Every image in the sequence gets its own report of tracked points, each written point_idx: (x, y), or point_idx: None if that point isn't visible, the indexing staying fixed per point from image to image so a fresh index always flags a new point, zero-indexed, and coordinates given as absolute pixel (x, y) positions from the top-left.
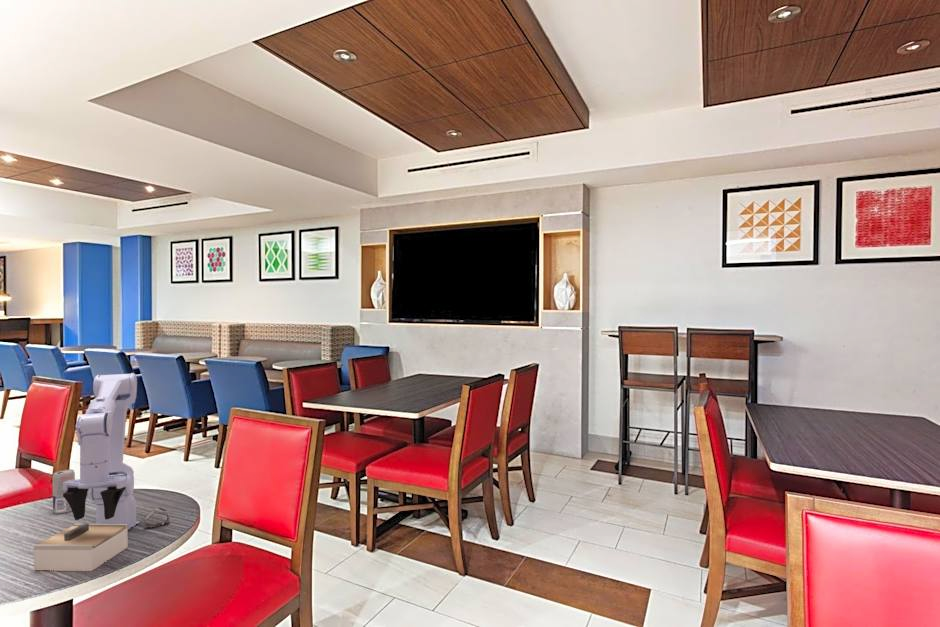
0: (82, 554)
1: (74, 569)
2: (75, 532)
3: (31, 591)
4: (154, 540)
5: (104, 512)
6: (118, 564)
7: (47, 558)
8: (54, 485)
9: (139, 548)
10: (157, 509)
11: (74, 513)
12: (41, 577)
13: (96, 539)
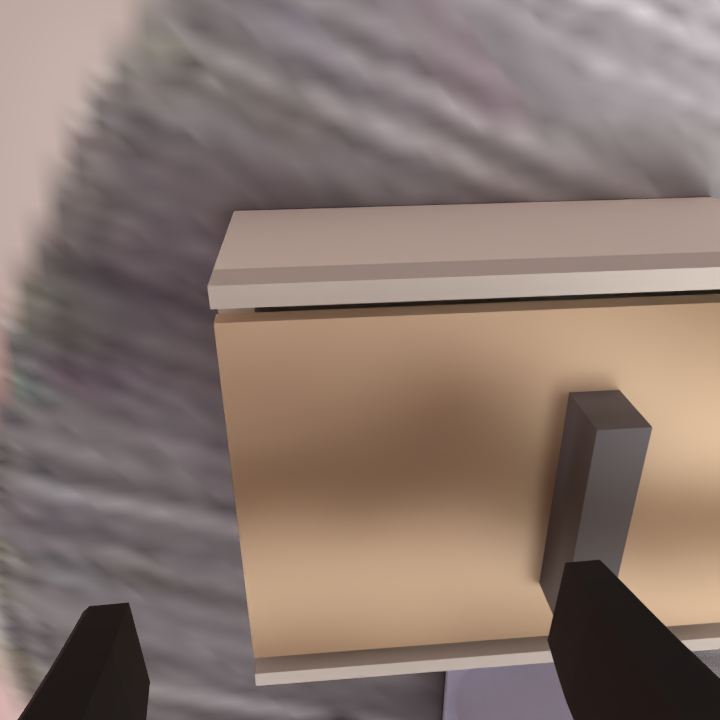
0: (313, 252)
1: (382, 210)
2: (576, 488)
3: None
4: (157, 623)
5: (89, 698)
6: (107, 324)
7: (651, 227)
8: None
9: (164, 531)
10: None
11: (646, 636)
12: (579, 94)
13: (301, 434)
